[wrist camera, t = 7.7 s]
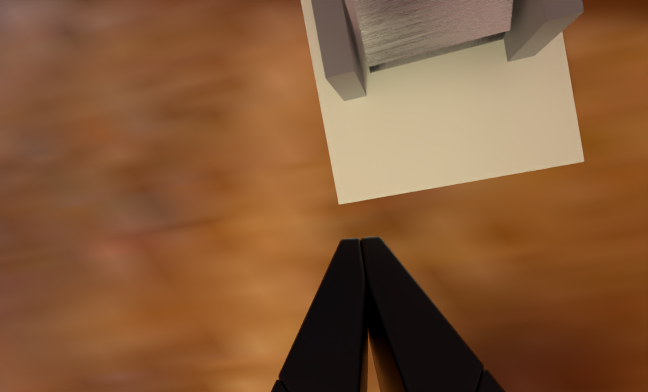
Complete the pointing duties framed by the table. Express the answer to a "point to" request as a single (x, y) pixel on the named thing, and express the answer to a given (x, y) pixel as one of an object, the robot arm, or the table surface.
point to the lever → (427, 28)
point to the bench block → (444, 104)
